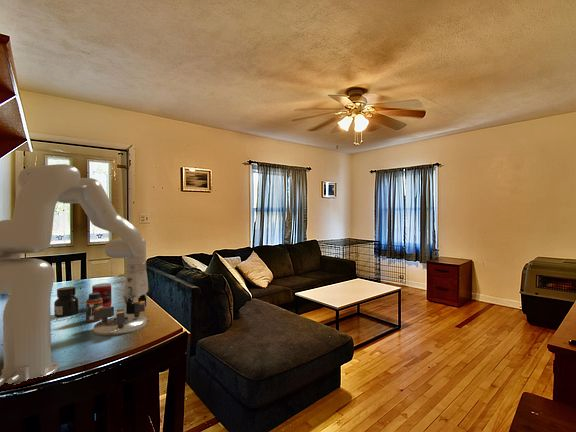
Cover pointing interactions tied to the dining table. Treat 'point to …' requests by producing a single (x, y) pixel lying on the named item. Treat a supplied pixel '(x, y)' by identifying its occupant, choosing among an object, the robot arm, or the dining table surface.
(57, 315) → the ink bottle
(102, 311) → the orange-tipped grey bar
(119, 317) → the grey chuck jaw
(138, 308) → the grey and orange block
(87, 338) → the dining table surface
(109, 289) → the canned food
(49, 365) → the robot arm
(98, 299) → the supplement bottle
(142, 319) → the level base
